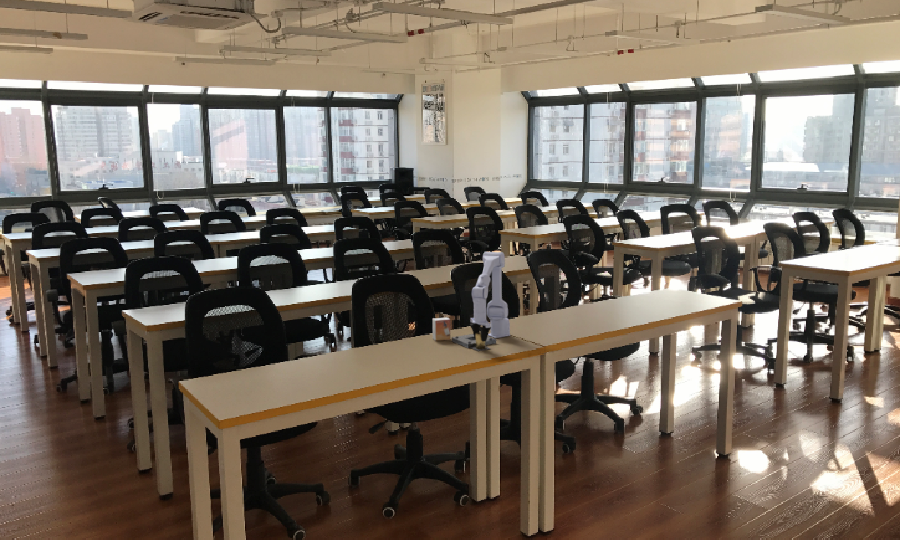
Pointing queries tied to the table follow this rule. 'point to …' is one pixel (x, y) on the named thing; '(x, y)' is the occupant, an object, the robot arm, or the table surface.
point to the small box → (441, 329)
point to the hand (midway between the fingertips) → (480, 339)
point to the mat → (480, 349)
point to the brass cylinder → (479, 341)
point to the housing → (471, 340)
